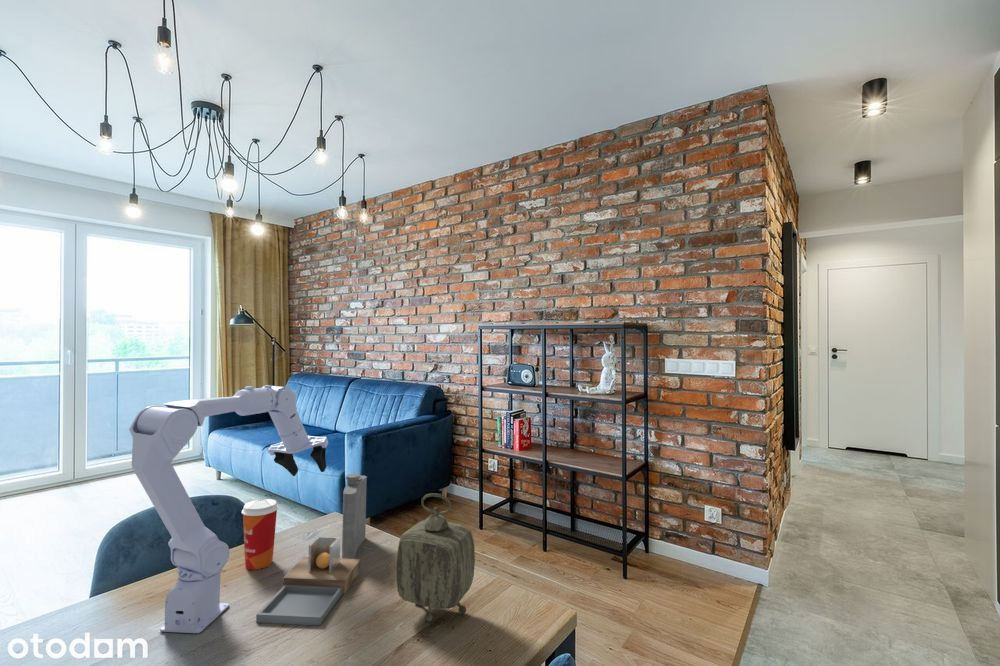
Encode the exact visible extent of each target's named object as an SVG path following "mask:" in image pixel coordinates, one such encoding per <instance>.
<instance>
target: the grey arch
mask: <svg viewBox="0 0 1000 666" xmlns="http://www.w3.org/2000/svg"><path fill="white" fill-rule="evenodd" d="M324 552H326V553H329V554H330V559H329V573H332V571H333V570H334V569H335V568H336V566H337V565H338V564H339V563H340V558H341V537H340V536H317V537H316V538H315V539H314V540H313V541H312V542H311V543H310V544H309V545H308V557H309V558H308V572H311V571H312V570H313V568H314V567H315V566H316V565H317V564H316V559H317V557H318V556H319V555H320V554H321V553H324Z"/></svg>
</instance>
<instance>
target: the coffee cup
mask: <svg viewBox="0 0 1000 666" xmlns="http://www.w3.org/2000/svg"><path fill="white" fill-rule="evenodd" d="M278 509H279V505H278V502H277V500H275V499H272V498H265V499H258V500H255V499H254V500H252V501H249V502H247V503H245V504H244V505H243V509H242V510H241V514H242V517H243V518H242V520H243V522H242V523H243V524H242V525H243V543H244V545H243V547H244V564H245V568H246V570H249V569H251V570H250V571H256V570H255V569H259V570H262V569H261V568H263V569H266V568H268V567H270V566H271V565H272V564H271V563H273V560H274V559H273V558H274V549H275V538H276V537H275V536H276V526H277V525H276V524H277V514H278V513H277V512H278ZM269 565H270V566H269ZM267 566H268V567H267ZM265 567H266V568H265Z"/></svg>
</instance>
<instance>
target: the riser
mask: <svg viewBox="0 0 1000 666" xmlns="http://www.w3.org/2000/svg"><path fill="white" fill-rule="evenodd" d="M308 558H309V556H303V557H302V558H301V559H300V560H299V561H298V562H297V563H296V564H295V565H294V566H293V567H292V568H291V569H290V570H289V571H288V572H287V573H286V574H285V575H284V576H283V578H282V582H283V583H282V587H283V586H284V585H299V586H322V587H342V595H345V594H346V593H347V592H348V590H349V588H350V587H351V585H352V584H353V583H354V582H355V580H356V578H357V577H358V576H359V574H360V573H361V559H360V558H355V559H342V557H340V563H339V564H338V565H337V566H336V568H335V569H334V570H333V571H332V573H329V566H328V567H327V568H323V569H322V568H319V567H318V566H317V565H316V566H315V567H314V568H313V570H312V571H311V572H308Z"/></svg>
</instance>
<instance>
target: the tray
mask: <svg viewBox="0 0 1000 666" xmlns="http://www.w3.org/2000/svg"><path fill="white" fill-rule="evenodd" d="M342 595H343V594H342V587H322V586H299V585H284V586H283V585H282V587H281V588H280V589H279V590H278V591H277V592H276V593H274V596H273V597H271V598H270V600H269V601H268V602H267V603H266V604H265V605H264V606H263V607H262V608H261V609H260V610H259V611H258V612H257V613H256V616H255V617H256V618H255V619H256V621H255V623H261V624H279V625H280V624H281V625H283V624H284V625H299V626H301V625H303V626H321V625H322V624H323V623H324V621H325V620H326V618H327V617H328V616H329V614H330V613H331V611H332V610H333V608H334V607H335V605H336V603H338V601H339V599H341V597H342Z"/></svg>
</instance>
